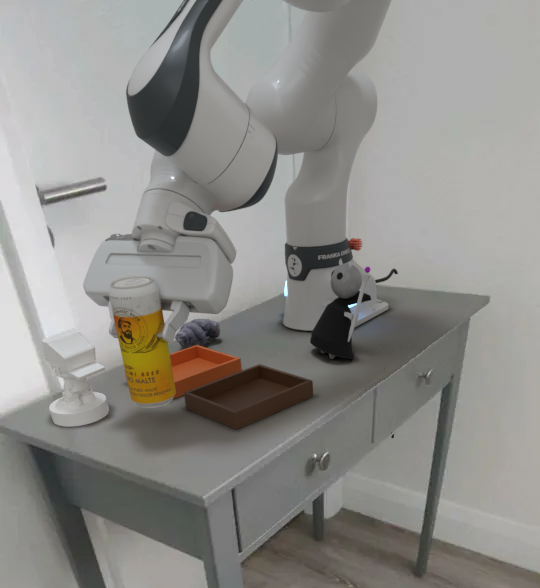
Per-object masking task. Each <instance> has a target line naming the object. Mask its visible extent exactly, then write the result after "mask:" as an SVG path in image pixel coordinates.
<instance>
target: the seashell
mask: <svg viewBox="0 0 540 588" xmlns="http://www.w3.org/2000/svg"><path fill="white" fill-rule="evenodd" d="M220 334H221V326H220V324H219V323H218V322H217V321H215V320H212V319H209V318H194V319H192V320H191V321H186V322H185V323H184V324H183V325H182V326H181V327H180V328H179V330H178V331H177V332H176V333H175V336H174V340H176V342H177V343H178V344H179V345H180V347H182V348H189V347H192V346H195V345H199V346H203V347H206V345H207V340H210V341H214V340H216V339H218V338H219V337H220ZM207 338H208V339H207Z"/></svg>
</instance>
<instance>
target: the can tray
mask: <svg viewBox="0 0 540 588" xmlns="http://www.w3.org/2000/svg"><path fill="white" fill-rule="evenodd" d="M170 359H171V365H172V371H173V377H174V383H175V389H176V394H175V395H174V397H173V400H175V399H179V398H180V397H183V396H184V393H185V392H187V391H190V390H192V389H195V388H198V387H200V386H203V385H205V384H208V383H211V382H213V381H216V380H219V379H221V378H224V377H227V376H229V375H232V374H235V373H237V372H240V371H243V369H242V360H241V357H238V356H235V355H232V354H228V353H225V352H221V351H218V350H215V349H212V348H208V347H206V346H204V347H203V346H199V345H195V346H192V347H189V348H187V347H185V348H184V349H180V350H177V351H174V352H172V353H170ZM124 375H126V373H125V372H124ZM125 378H126V380H127V377H126V376H125ZM126 383H127V385H128V382H127V381H126Z"/></svg>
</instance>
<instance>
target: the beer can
mask: <svg viewBox="0 0 540 588" xmlns="http://www.w3.org/2000/svg"><path fill="white" fill-rule="evenodd" d="M109 298H110V303H111V308H112V312H113V317H114V322H115V326H116V331H117V335H118V338H117V339H118V345H119V349H120V354H121V359H122V363H123V367H124V374H125V373H126V374H125V378H126V377H127V379H126V383H127V382H128V384H127V387H128V390H129V395H130V399H131V401H132V402H133V403H135V405H137V406H138V407H139V408H143V409H156V408H160V407H165V406H166V405H169V404H171V403H172V401H174V399H173V397H174V395H175V394H176V389H175V383H174V377H173V371H172V365H171V359H170V354H171V353H170V348H169V343H164V342H161V341H160V340H158V339H157V337H156V333H157V331H158V327H159V324H160V323H165V318H164V311H163V310H162V306H161V300H160V294H159V288H158V286H157V285H156V283H155V281H154V279H153V277H151V276H145V275H137V276H128V277H123V278H119V279H116V280H113V281H112V282H110V290H109Z"/></svg>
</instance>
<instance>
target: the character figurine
mask: <svg viewBox="0 0 540 588" xmlns="http://www.w3.org/2000/svg"><path fill="white" fill-rule="evenodd" d="M41 346H42V351H43V357H44V360H45V361H46V362H47V363H48V364H49V366H50V367H51V370H54V374H55V375H56V376H57V377H58V378H60V379H61V378H62V379H63V389H64V391H62V396H61V397H60V398H57V399H55V400H53V402H51V403H50V404H49V407H48V410H49V413H50V416H51V419H52V423H54V424H55V425H56V426H59V427H65V428H68V427H70V428H71V427H81V426H85V425H86V426H87V425H89V424H93V423H96V422H98V421H100V420H102V419H103V418H105V417H106V416H107V415H108V414H109V413H110V407H109V403H108V400H107V399H108V398H107V396H106V395H105V394H103V393H101V392H97V391H93V390H94V388H93V386H92V385H91V384H90V383H89V382H88V381H87V378H88V377H91V376H93V375H96V374H99V373H101V372H103V371H105V370H106V366H104V365H103V364H101V363H99V362H96V359H97V357H96V347H95V345H94V344H93V343H92V342H91V341H90V340H89V339H88V338H87V337H86V336H85V334H83V333H82V332H81V331H80V330H77V329H76V328H70V329H67V330H64V331H61V332H58V333H56V334H53V335H50V336H47V337H44V338H43V339H41Z"/></svg>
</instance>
